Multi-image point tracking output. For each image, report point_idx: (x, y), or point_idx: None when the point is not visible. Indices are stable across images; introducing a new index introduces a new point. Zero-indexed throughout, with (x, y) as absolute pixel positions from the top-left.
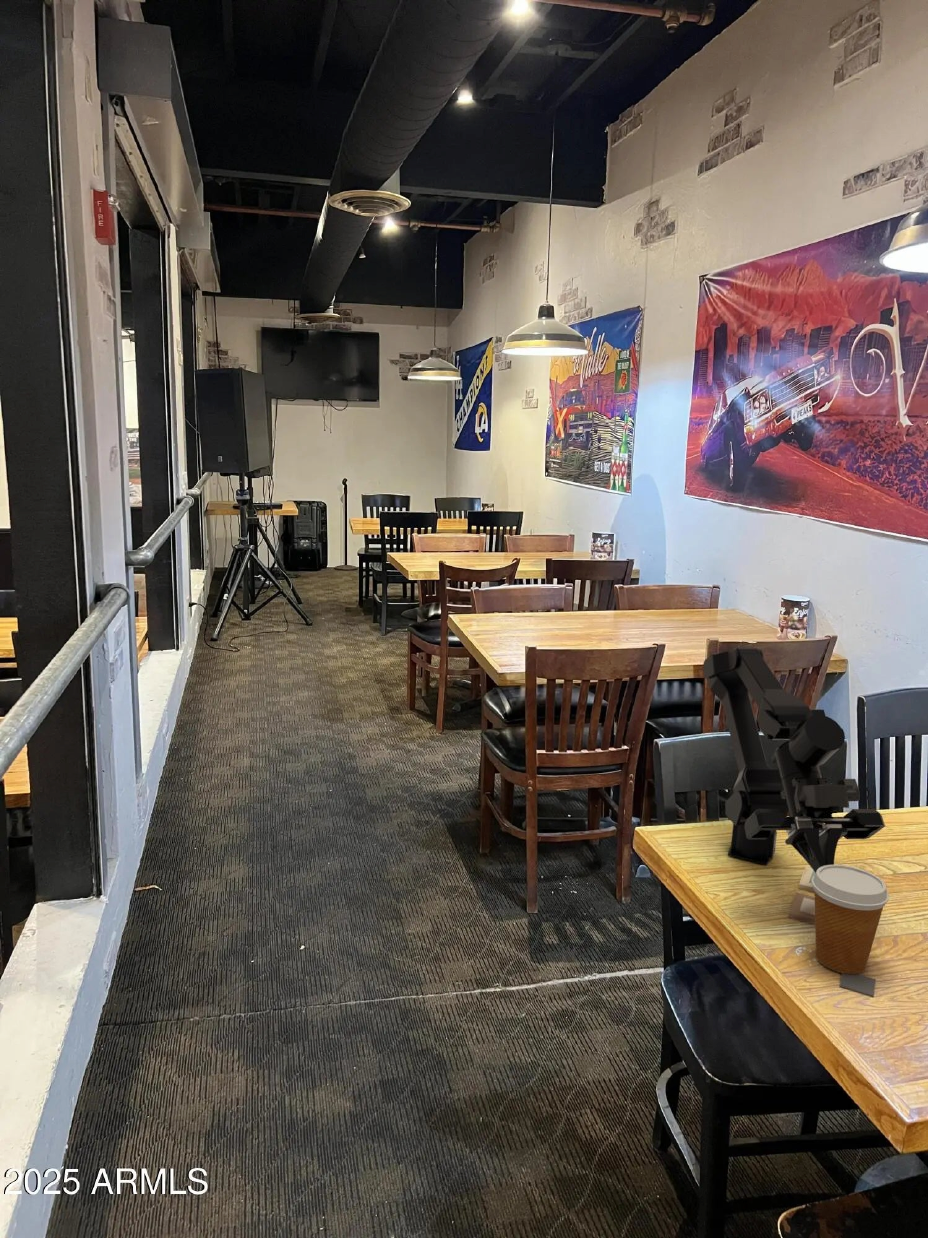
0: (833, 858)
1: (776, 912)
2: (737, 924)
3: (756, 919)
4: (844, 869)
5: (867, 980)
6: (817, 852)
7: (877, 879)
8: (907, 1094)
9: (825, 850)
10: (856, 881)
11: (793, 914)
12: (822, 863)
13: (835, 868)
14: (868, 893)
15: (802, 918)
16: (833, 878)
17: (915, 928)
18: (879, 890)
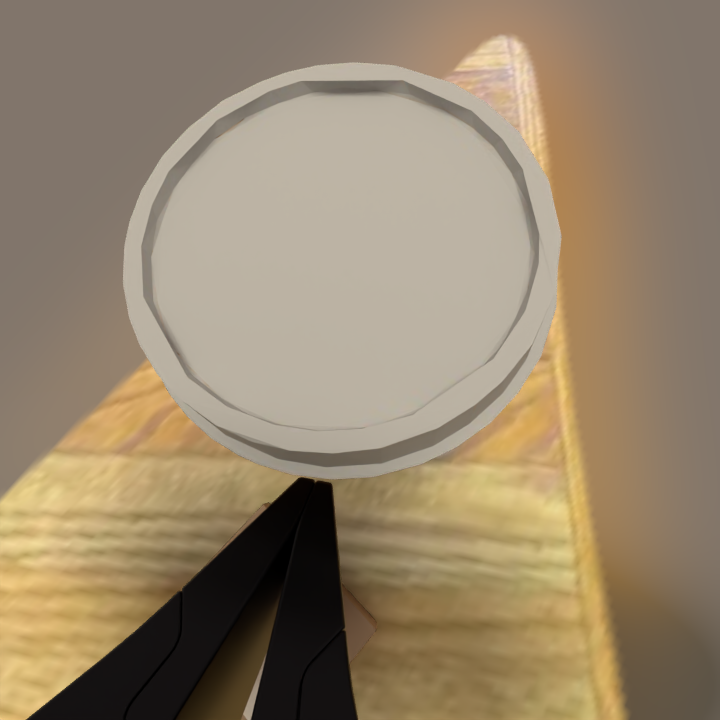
0: (195, 584)
1: (397, 669)
2: (580, 623)
3: (495, 639)
4: (246, 396)
5: None
6: (314, 678)
7: (151, 222)
8: (492, 52)
9: (199, 700)
10: (294, 234)
11: (364, 617)
12: (313, 569)
13: (302, 422)
14: (354, 72)
15: (343, 590)
16: (424, 286)
17: (37, 473)
18: (242, 132)
